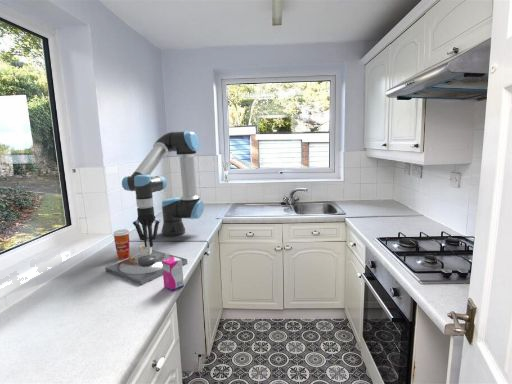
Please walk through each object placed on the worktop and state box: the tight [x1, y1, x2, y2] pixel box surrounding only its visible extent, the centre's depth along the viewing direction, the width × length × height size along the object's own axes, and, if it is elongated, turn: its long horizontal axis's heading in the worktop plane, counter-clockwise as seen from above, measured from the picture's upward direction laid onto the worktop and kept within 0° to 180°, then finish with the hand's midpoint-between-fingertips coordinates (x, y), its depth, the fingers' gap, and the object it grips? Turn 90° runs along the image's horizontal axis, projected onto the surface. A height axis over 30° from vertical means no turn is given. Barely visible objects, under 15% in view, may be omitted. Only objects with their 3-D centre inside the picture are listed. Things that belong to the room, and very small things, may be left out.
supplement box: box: [162, 257, 185, 292], centre depth 119 cm, size 6×6×12 cm
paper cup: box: [112, 228, 131, 260], centre depth 152 cm, size 8×8×14 cm
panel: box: [104, 249, 188, 286], centre depth 139 cm, size 26×26×3 cm
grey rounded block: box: [138, 244, 156, 266], centre depth 142 cm, size 15×8×6 cm, turn 32°
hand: (149, 253), depth 147 cm, fingers closed
